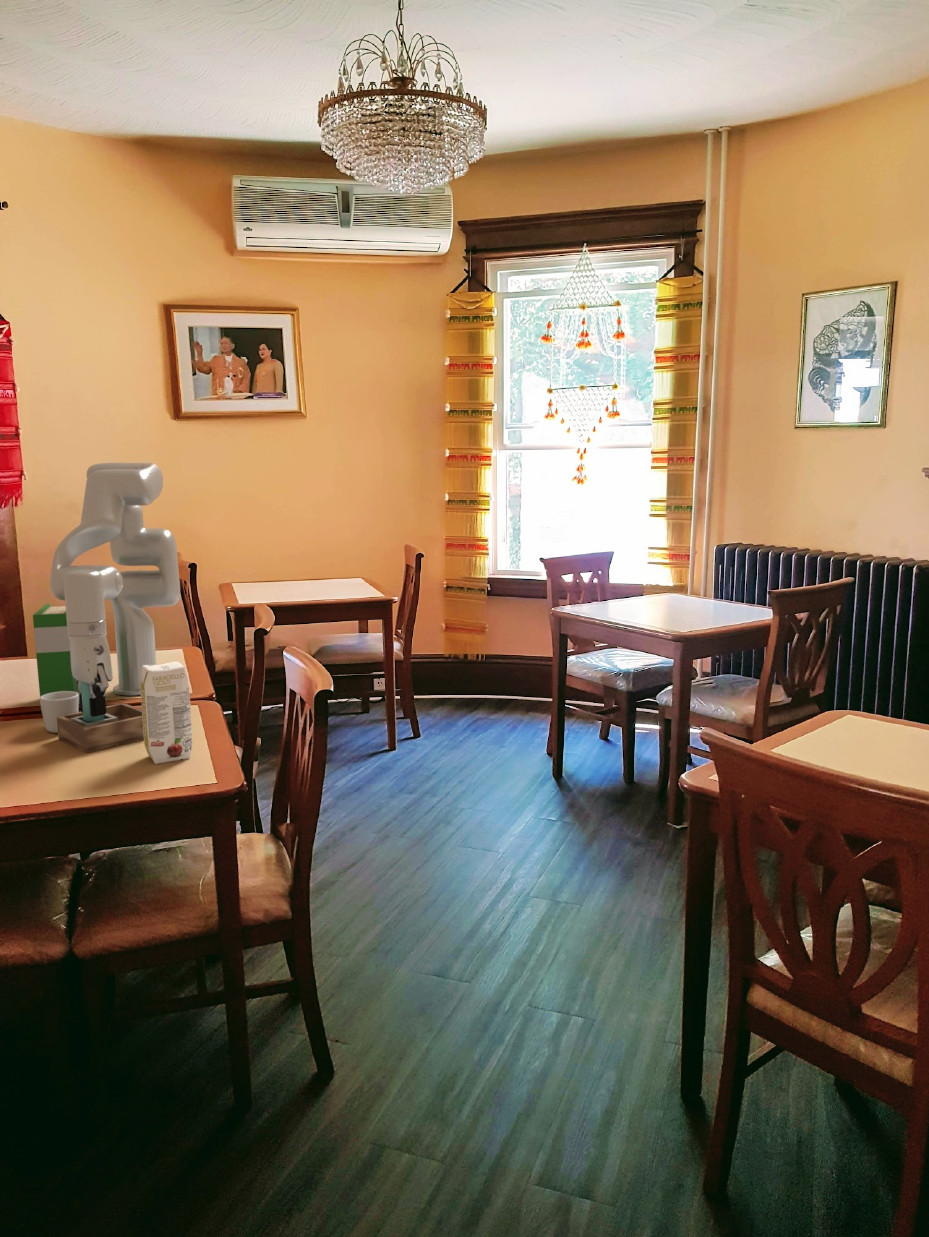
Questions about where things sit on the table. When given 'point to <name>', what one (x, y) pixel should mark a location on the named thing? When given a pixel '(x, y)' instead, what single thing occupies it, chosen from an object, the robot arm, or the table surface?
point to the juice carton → (166, 712)
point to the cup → (58, 707)
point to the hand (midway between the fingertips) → (93, 712)
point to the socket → (107, 719)
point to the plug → (88, 703)
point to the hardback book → (53, 651)
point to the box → (103, 729)
